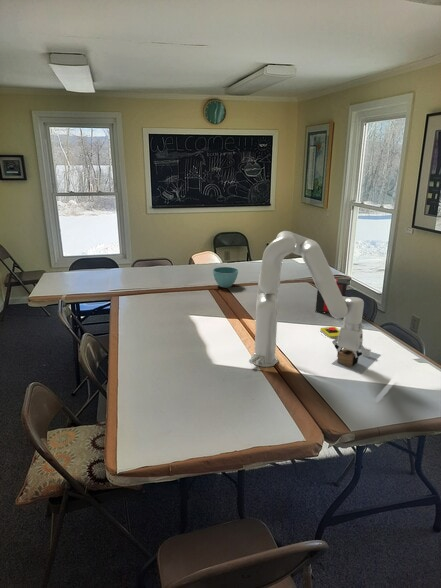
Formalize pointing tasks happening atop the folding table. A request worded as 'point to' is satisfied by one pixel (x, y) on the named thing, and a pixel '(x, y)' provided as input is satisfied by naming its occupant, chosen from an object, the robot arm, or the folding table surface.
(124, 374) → the folding table surface
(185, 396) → the folding table surface
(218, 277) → the teal rounded bowl
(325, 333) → the emergency button
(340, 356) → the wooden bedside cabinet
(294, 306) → the folding table surface
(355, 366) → the shaft plate
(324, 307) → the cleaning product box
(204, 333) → the folding table surface
